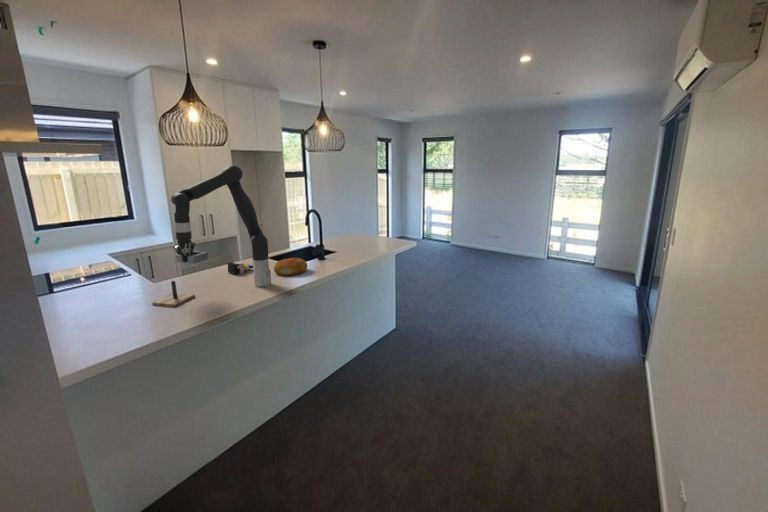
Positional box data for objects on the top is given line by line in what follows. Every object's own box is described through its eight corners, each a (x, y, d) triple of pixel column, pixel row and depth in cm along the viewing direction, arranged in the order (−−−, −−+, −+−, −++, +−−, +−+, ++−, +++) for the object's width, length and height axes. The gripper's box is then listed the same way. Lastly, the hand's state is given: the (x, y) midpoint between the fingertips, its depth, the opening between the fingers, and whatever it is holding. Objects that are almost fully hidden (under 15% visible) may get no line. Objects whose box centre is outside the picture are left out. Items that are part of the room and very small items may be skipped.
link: (208, 259, 198) (207, 252, 197) (194, 263, 187) (193, 256, 186) (191, 257, 200) (190, 250, 199) (176, 261, 189) (176, 254, 188)
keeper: (195, 297, 197) (192, 278, 194) (174, 307, 183) (171, 286, 180) (174, 295, 200) (171, 276, 197) (152, 304, 186) (149, 284, 183)
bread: (274, 268, 254) (273, 255, 252) (306, 266, 261) (305, 254, 258) (274, 278, 233) (273, 264, 231) (309, 275, 240) (308, 261, 237)
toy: (255, 262, 247) (235, 265, 235) (254, 272, 248) (235, 274, 236) (245, 260, 254) (226, 262, 242) (245, 269, 255) (226, 271, 243)
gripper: (179, 233, 177) (182, 265, 181) (198, 229, 190) (201, 259, 194) (167, 232, 179) (170, 264, 183) (186, 228, 192) (189, 258, 196)
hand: (186, 261), depth 189 cm, fingers closed on link, 1 cm apart
